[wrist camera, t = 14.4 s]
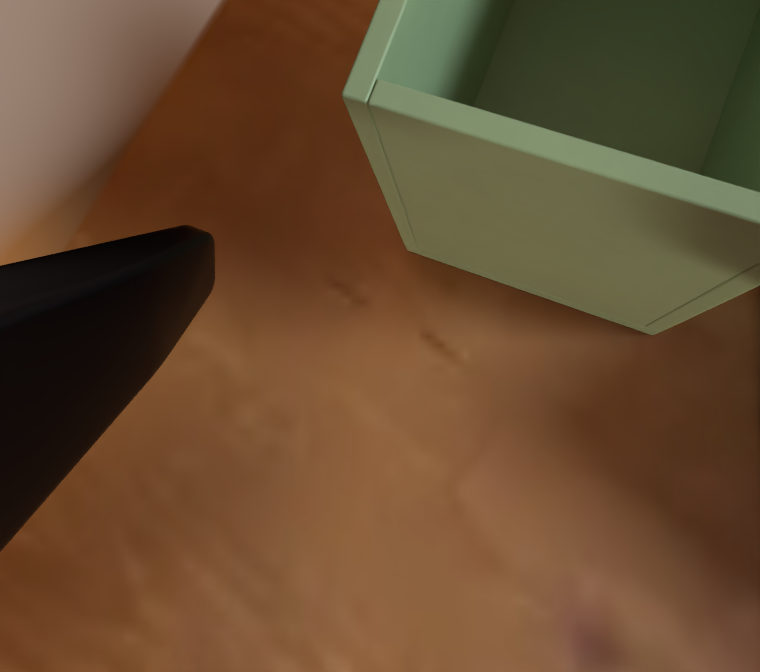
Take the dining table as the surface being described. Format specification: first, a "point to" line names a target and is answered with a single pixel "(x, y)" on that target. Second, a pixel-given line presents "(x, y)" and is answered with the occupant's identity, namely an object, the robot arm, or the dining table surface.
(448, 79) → the caddy
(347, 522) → the dining table surface
